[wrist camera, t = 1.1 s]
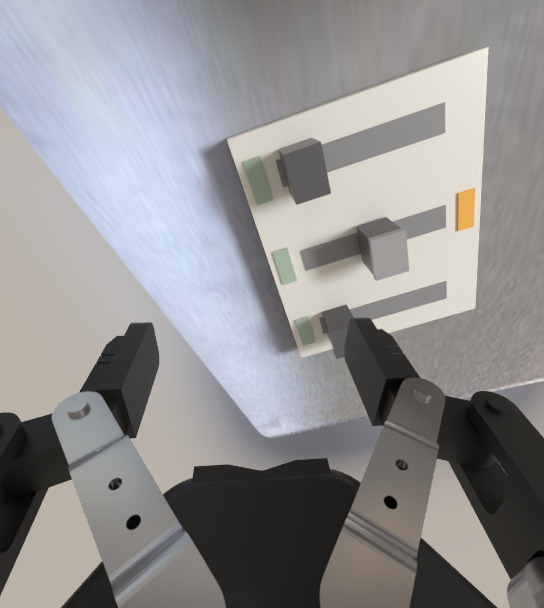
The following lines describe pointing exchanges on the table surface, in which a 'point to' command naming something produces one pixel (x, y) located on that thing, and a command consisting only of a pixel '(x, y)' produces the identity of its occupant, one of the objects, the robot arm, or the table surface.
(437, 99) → the breaker panel
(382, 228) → the block
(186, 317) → the table surface
